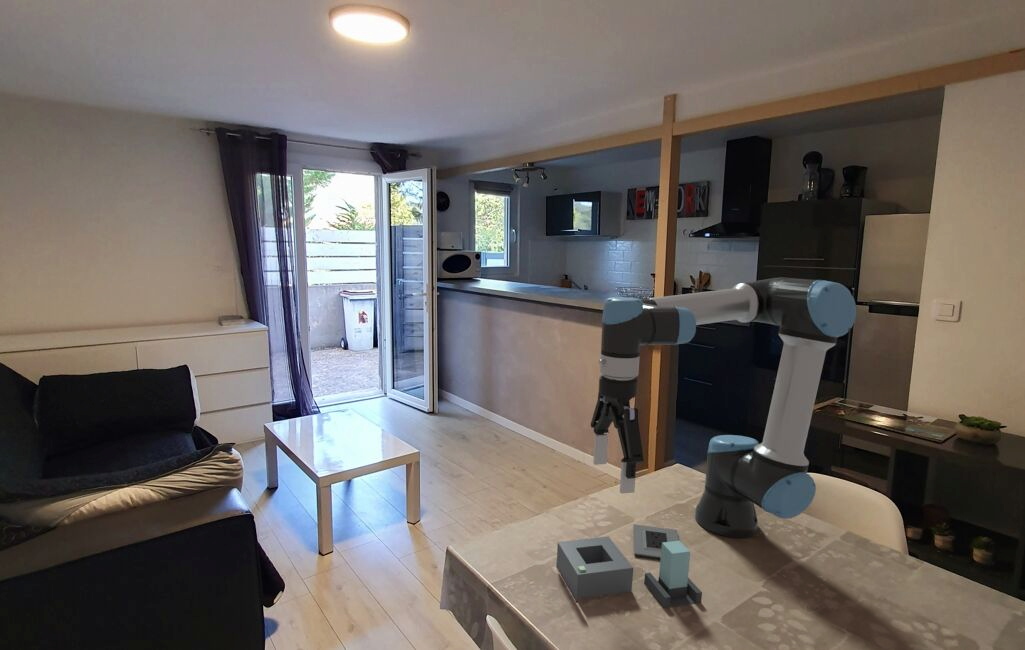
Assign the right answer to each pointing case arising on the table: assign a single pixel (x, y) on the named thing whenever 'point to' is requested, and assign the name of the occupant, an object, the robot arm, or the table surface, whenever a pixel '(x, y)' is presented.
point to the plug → (674, 569)
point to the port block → (593, 567)
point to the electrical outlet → (651, 540)
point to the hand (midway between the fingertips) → (612, 477)
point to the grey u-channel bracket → (663, 597)
